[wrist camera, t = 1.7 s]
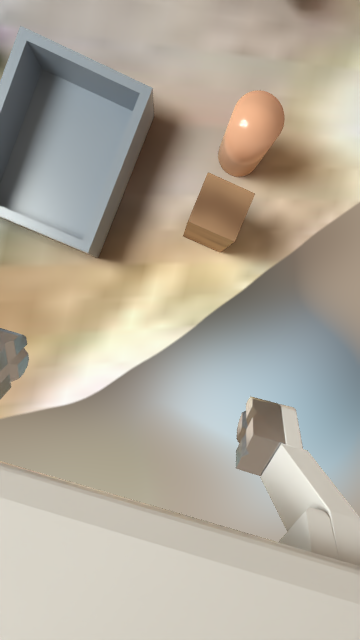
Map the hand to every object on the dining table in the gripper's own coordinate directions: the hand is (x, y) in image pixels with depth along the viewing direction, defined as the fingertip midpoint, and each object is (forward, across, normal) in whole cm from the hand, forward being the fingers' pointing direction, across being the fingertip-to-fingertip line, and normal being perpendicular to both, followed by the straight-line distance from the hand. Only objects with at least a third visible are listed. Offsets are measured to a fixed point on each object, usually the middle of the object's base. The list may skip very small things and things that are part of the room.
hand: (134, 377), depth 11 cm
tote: (+30, +17, 0) cm, 35 cm away
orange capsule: (+35, -2, -5) cm, 36 cm away
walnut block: (+31, 0, +3) cm, 31 cm away
